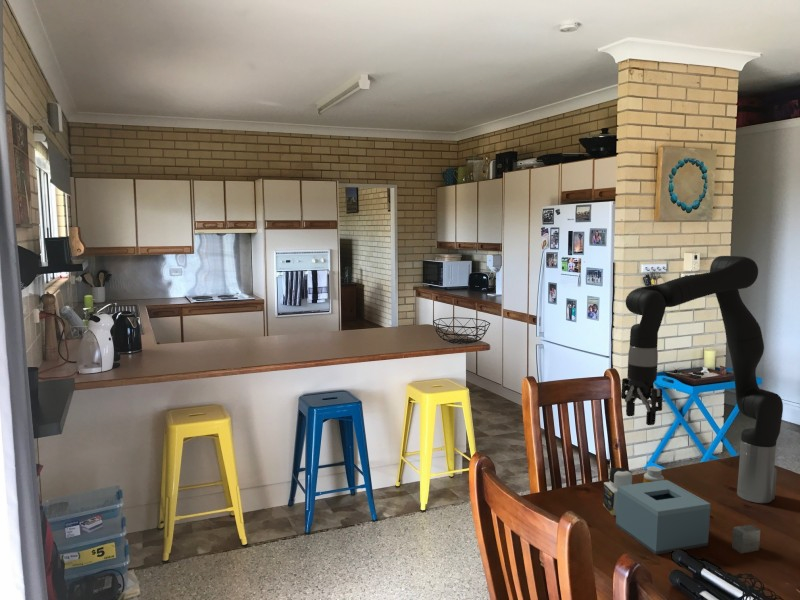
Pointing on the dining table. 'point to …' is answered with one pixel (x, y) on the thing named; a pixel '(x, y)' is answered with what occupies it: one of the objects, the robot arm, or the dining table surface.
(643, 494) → the box
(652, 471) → the supplement bottle
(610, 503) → the medicine bottle
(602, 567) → the dining table surface
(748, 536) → the grey block
